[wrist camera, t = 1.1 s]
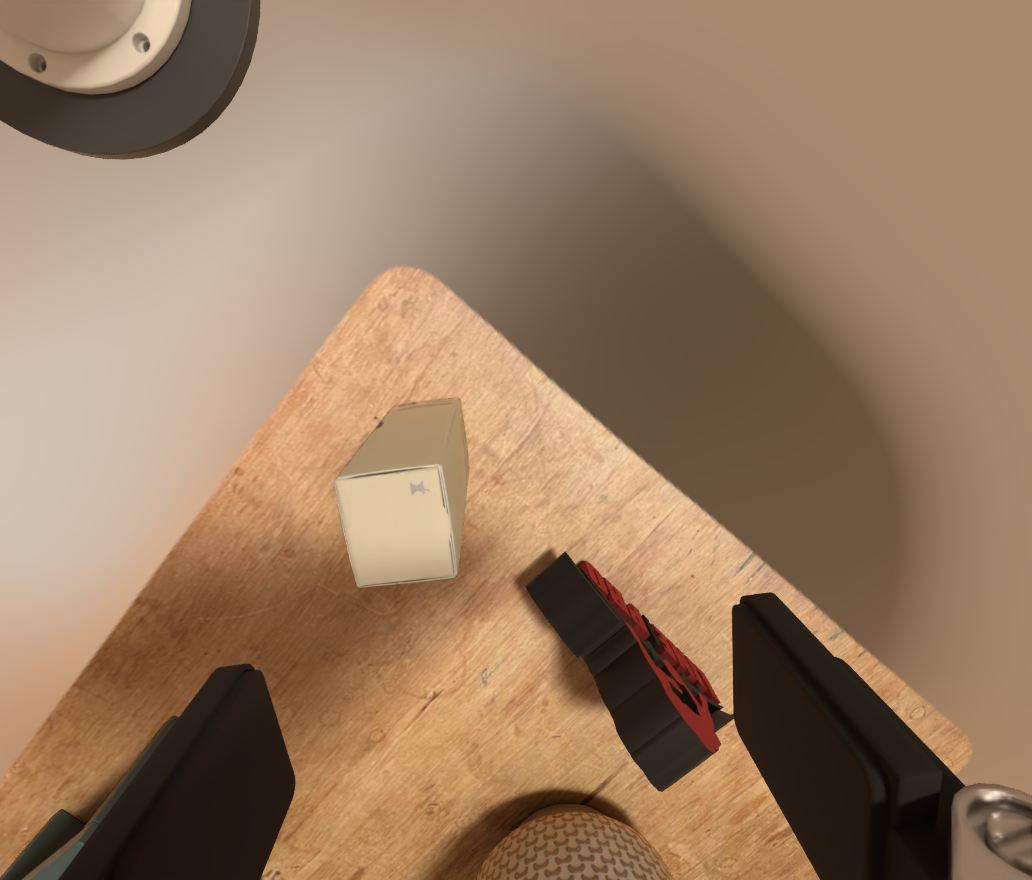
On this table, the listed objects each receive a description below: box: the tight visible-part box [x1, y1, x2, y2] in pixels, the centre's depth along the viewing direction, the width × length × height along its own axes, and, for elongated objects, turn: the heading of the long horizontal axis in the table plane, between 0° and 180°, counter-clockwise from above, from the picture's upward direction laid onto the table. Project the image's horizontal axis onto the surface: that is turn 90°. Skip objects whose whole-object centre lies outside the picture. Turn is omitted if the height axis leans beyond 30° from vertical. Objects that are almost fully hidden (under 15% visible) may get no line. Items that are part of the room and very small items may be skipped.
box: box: [335, 398, 469, 588], centre depth 26 cm, size 5×4×13 cm
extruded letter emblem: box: [525, 552, 734, 792], centre depth 32 cm, size 18×4×11 cm, turn 44°
